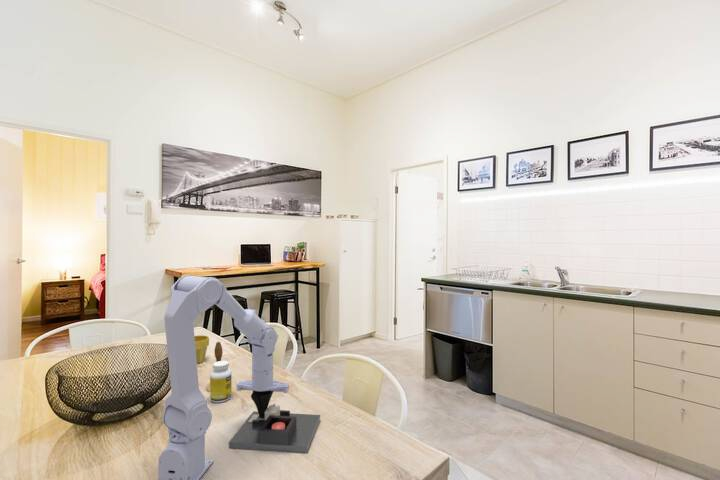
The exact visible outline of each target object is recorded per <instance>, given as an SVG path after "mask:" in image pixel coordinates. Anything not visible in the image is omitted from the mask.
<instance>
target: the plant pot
mask: <svg viewBox="0 0 720 480" xmlns="http://www.w3.org/2000/svg"><path fill="white" fill-rule="evenodd" d="M194 337H195V349H196V360H197V365H199V364H201V363H204V362H205V360H206V355H207V350H208V347H209V345H210V336H208V335H202V334H201V335H194Z"/></svg>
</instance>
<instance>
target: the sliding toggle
mask: <svg viewBox="0 0 720 480" xmlns="http://www.w3.org/2000/svg"><path fill="white" fill-rule="evenodd" d="M280 410H281V405H277V404H276V403H273V404H268V408H267V410H266V411H265V420H267V418H268V417H269V416H270V415H275V416H280Z"/></svg>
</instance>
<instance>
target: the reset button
mask: <svg viewBox="0 0 720 480" xmlns="http://www.w3.org/2000/svg"><path fill="white" fill-rule="evenodd" d="M272 429H276V430H285V423H283V422H277V423H274V424H273V425H272Z"/></svg>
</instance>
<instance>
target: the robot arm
mask: <svg viewBox="0 0 720 480" xmlns="http://www.w3.org/2000/svg"><path fill="white" fill-rule="evenodd" d="M170 295H171V296H170V297H169V298H170V299H169V301H168V304H167V307H166V310H165V313H164V329H165V337H166V338H165V339H166V340H165V341H166V348H167V357H168V358H167V359H168V371H169V372H168V373H169V380H170V392H171V393H170V394H169V395H168V396H167V397H166V398H165V399H164V410H163V411H162V412H163V413H162V417H161V419H162V424H163V425H164V426H165V427H166V428H167V433H168V440H167V444H166V447H165V449H164V450H163V451H162V452H161V454H160V456H159V457H158V480H201V478H202V476H204V474H205V473H206V471H207V470H209V467H210V466H211V465H212V464H213V463H214V460H213V459H206V433H207V431H208V430H209V428H210V426H211V423H212V420H213V419H212V418H213V415H212V411H211V410H210V408H209V406H208V401H207V399H206V397H205V396H204V394H203V393H202V392H201V390H200V384H199V375H198V364H197V360H196V349H195V337H194V336H195V327H194V326H195V325H194V322H195V320H196V319H197V318H198V317H199V316H200V315H202V314H203V313H204V312H205V311H207V310H208V309H210V308H211V307H213V306H214V305H215V306H217V307H218V308H219V309H220V310H222V311H223V312H224V313H226V314H227V315H228V316H229V317H231V318H232V319H233V326H234V327H235V328H236V329H237V330H238V331H239V332H241V333H242V334H243V336H245V337H246V341H247V343H248V344H250V345H251V362H252V364H251V377H252V378H251V380H244V381H243V380H241V381H240V380H239V381H238V382H237V383H236V392H241V391H252V393H251V395H250V399H252V401H253V403H254V405H255V407H256V410H257V412H258V413H259V418H264V417H265V411H266V410H267V408H268V407H269V405H270V401H271V398H272V396H273V394H274V392H276V393H277V392H278V393H280V392H281V393H283V394H288V392H289V390H290V383H288V382H287V383H286V382H281V381H277V380H274V352H275V350H276V345H277V342H278V338H279V334H278V333H277V331H276V329H275V328H274V327H273V326H268V325H267V324H266V321H265V320H264V319H261V318H260V316H258V315H257V311H256V309H249V308H246V309H245V308H243V306H242V305H241V304H240V303H239V301H237V300H236V299H235V298H234V296H233V295H232V294H231V293H230V292H229V291H228V289H227V285H225V284H223V283H222V282H221V281H220V280H219V279H218V278H216V277H213V276H209V277H205V276H198V275H197V276H196V275H192V274H186V275H183V276H181V277H179V278H178V279H177V281H175V282H174V283H173V285H171V287H170Z"/></svg>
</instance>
